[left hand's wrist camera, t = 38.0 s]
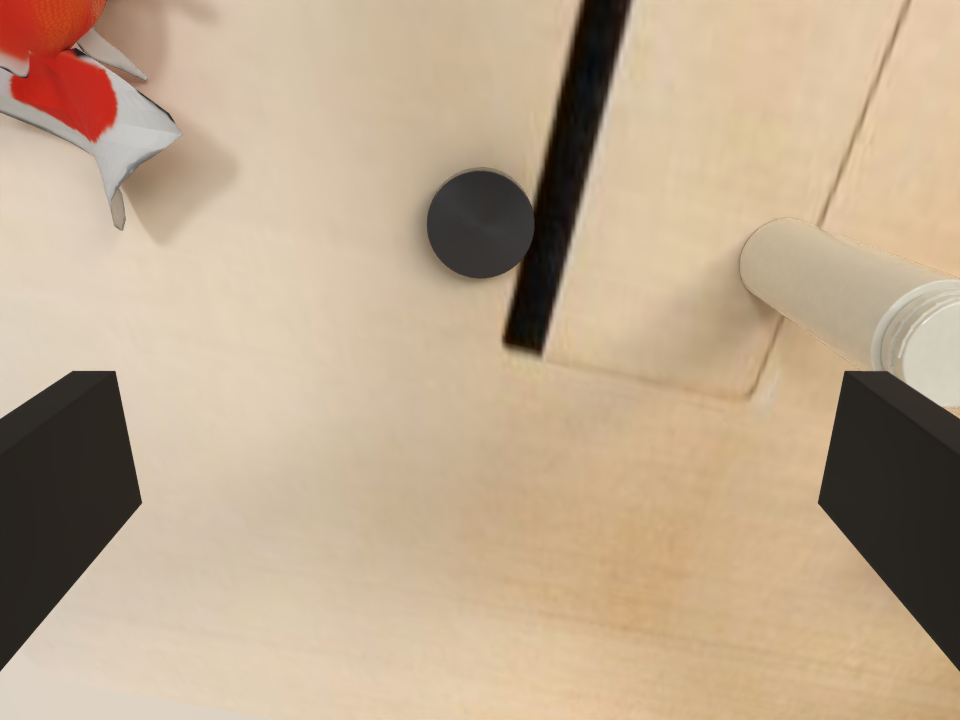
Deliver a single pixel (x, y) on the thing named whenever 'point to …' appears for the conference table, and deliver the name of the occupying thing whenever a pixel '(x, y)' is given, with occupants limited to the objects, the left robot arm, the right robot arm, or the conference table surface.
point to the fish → (78, 88)
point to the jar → (861, 303)
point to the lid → (480, 223)
